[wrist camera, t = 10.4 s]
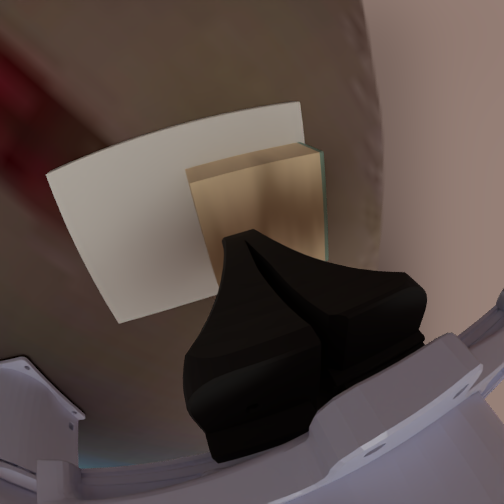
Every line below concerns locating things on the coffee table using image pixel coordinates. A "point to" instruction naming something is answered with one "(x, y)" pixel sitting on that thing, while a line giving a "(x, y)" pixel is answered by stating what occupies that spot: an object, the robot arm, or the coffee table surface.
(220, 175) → the oak slab
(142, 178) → the grey mat
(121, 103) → the coffee table surface
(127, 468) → the robot arm
